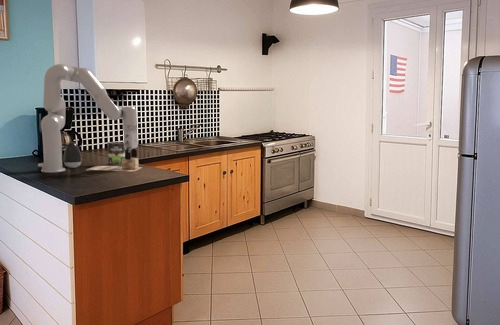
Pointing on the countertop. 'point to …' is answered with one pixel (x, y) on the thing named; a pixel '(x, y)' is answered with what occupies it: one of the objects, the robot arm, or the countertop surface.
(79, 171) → the countertop surface
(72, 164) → the grey egg shaped speaker
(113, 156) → the coffee can
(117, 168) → the board
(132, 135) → the robot arm
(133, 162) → the sanding block
